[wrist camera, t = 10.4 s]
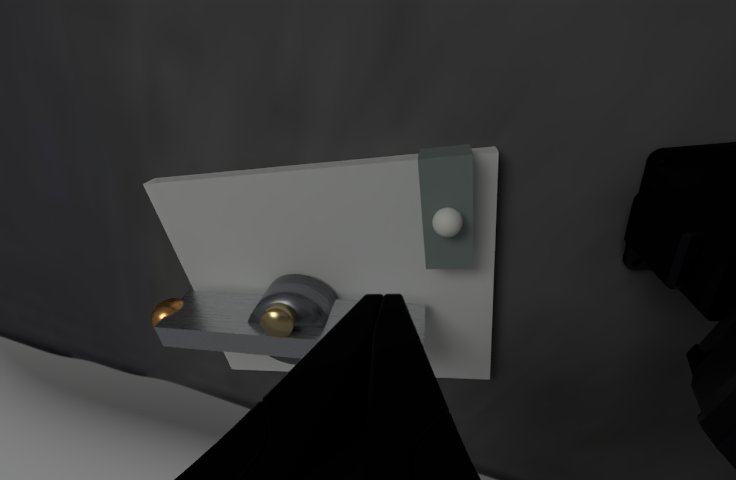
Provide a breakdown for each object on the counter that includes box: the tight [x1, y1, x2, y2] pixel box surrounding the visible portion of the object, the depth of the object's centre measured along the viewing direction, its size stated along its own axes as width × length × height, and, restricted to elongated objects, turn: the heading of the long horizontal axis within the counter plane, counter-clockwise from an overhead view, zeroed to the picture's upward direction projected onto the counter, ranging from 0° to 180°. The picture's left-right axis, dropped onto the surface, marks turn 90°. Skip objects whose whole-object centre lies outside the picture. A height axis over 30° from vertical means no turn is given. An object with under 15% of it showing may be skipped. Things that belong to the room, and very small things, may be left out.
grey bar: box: [151, 274, 425, 365], centre depth 22 cm, size 5×18×4 cm, turn 94°
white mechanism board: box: [143, 144, 499, 380], centre depth 22 cm, size 20×16×4 cm
